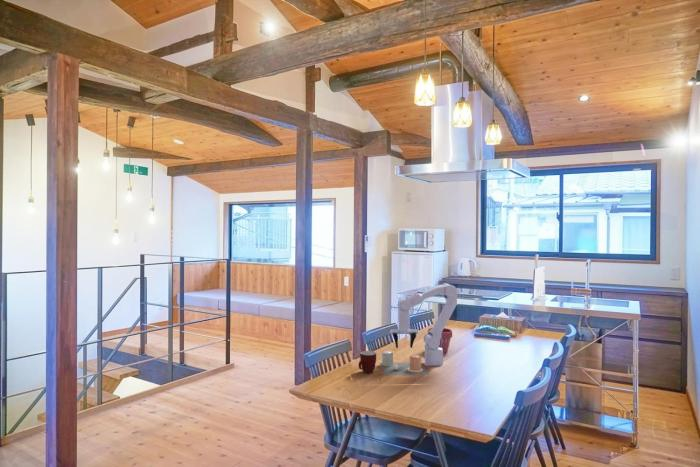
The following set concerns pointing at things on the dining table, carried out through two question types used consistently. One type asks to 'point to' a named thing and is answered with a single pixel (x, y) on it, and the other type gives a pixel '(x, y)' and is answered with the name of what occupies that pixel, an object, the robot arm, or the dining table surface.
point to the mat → (402, 370)
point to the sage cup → (387, 358)
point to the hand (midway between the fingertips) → (404, 347)
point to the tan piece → (415, 362)
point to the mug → (367, 361)
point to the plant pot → (445, 339)
